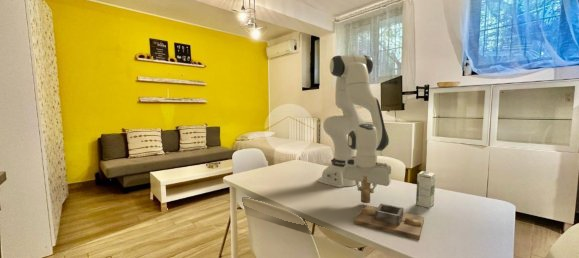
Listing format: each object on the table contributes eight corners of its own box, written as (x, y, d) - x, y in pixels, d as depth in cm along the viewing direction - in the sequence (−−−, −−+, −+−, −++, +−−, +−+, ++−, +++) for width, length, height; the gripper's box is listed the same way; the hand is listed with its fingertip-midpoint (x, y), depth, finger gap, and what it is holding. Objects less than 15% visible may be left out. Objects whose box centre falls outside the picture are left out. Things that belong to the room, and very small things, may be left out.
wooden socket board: (354, 223, 93) (354, 210, 93) (366, 208, 107) (366, 197, 106) (419, 239, 81) (419, 225, 81) (423, 220, 95) (424, 208, 94)
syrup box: (420, 201, 113) (421, 170, 112) (434, 204, 109) (435, 172, 108) (415, 205, 109) (416, 173, 108) (430, 208, 105) (431, 175, 104)
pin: (359, 201, 109) (360, 175, 108) (362, 198, 113) (362, 173, 111) (368, 203, 107) (369, 177, 106) (371, 200, 110) (371, 174, 109)
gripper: (392, 162, 105) (391, 193, 106) (346, 157, 116) (346, 185, 118) (389, 165, 100) (388, 198, 101) (341, 159, 111) (341, 189, 112)
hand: (365, 191), depth 109 cm, fingers closed on pin, 4 cm apart
